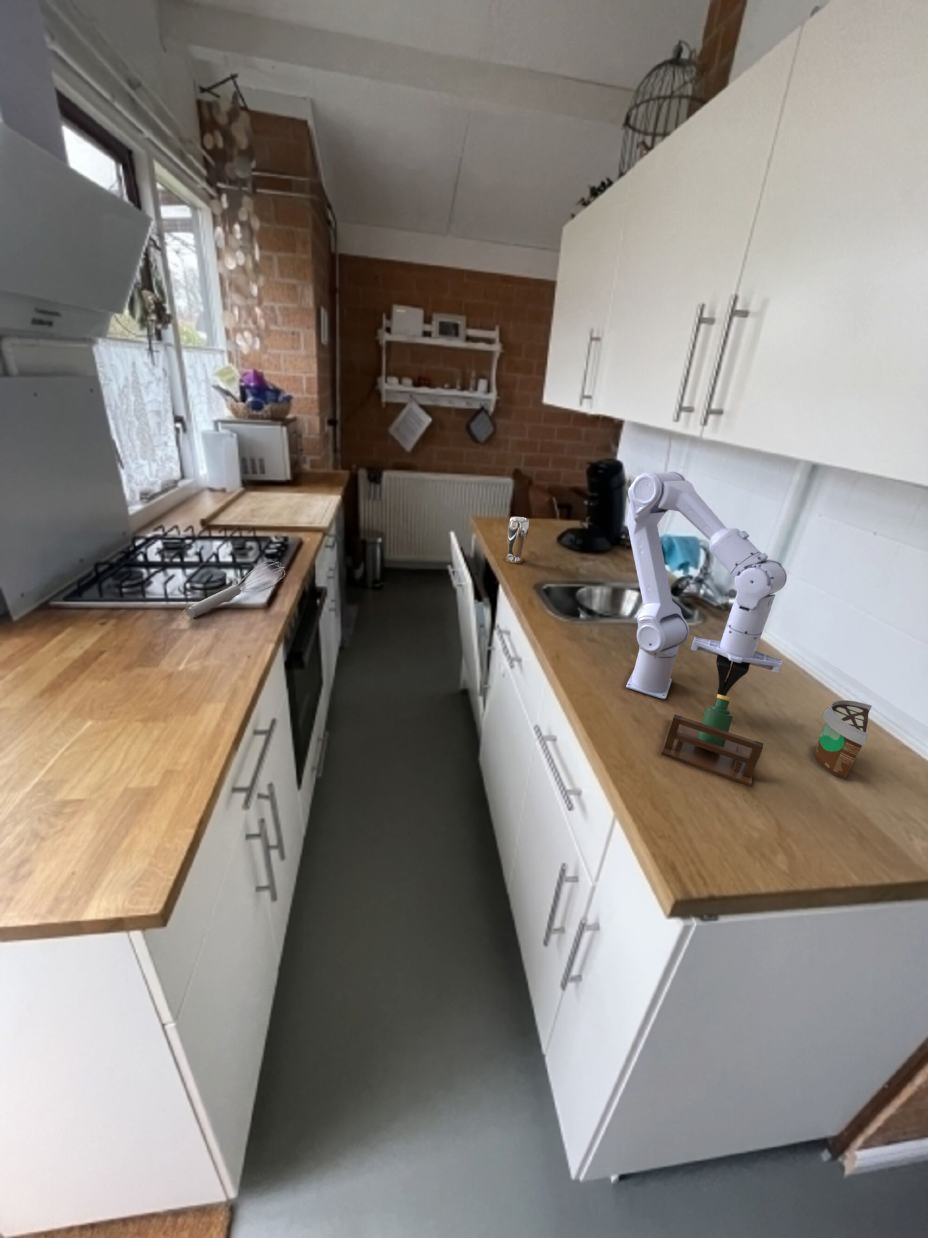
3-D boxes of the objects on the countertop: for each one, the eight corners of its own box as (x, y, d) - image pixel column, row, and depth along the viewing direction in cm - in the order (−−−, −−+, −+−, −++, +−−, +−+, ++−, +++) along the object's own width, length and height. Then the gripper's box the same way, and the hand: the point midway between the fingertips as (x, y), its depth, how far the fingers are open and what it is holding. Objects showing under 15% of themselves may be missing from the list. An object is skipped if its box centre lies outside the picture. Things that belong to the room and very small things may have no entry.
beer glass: (503, 562, 177) (508, 519, 171) (504, 556, 184) (510, 515, 177) (523, 565, 176) (529, 522, 170) (524, 559, 183) (530, 517, 177)
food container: (811, 735, 97) (831, 690, 93) (849, 750, 93) (872, 704, 89) (801, 766, 88) (823, 718, 84) (843, 784, 85) (868, 735, 80)
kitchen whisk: (172, 618, 118) (168, 593, 115) (273, 577, 147) (271, 556, 144) (193, 624, 116) (189, 599, 113) (290, 581, 145) (289, 560, 142)
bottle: (695, 738, 92) (710, 691, 91) (722, 747, 90) (736, 699, 90) (696, 741, 88) (711, 692, 87) (724, 751, 86) (739, 701, 86)
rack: (669, 722, 97) (679, 691, 94) (751, 749, 91) (764, 717, 88) (660, 754, 88) (671, 720, 85) (750, 786, 82) (764, 752, 79)
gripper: (698, 624, 90) (678, 690, 95) (792, 648, 84) (765, 716, 89) (702, 611, 95) (683, 674, 101) (789, 633, 90) (764, 698, 95)
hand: (721, 693), depth 96 cm, fingers closed
